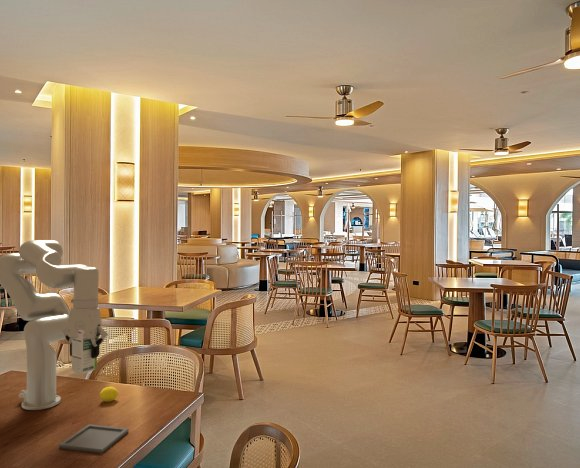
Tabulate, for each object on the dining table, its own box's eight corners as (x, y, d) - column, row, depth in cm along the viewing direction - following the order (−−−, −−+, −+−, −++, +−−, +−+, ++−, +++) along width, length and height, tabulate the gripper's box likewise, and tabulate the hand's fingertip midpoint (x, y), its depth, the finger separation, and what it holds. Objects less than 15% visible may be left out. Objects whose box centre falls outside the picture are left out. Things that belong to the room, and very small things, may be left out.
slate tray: (59, 448, 133) (59, 444, 133) (88, 427, 147) (88, 424, 146) (102, 453, 130) (102, 449, 130) (128, 432, 144) (128, 428, 144)
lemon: (115, 398, 173) (117, 384, 174) (119, 403, 169) (121, 388, 170) (96, 399, 169) (98, 385, 170) (99, 404, 165) (102, 389, 165)
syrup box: (81, 374, 149) (82, 330, 148) (70, 370, 152) (71, 327, 151) (97, 369, 153) (98, 327, 153) (86, 366, 157) (87, 324, 156)
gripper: (55, 303, 150) (53, 357, 150) (102, 307, 147) (101, 361, 147) (70, 300, 157) (68, 350, 158) (115, 303, 154) (114, 355, 154)
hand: (84, 355), depth 152 cm, fingers closed on syrup box, 7 cm apart
